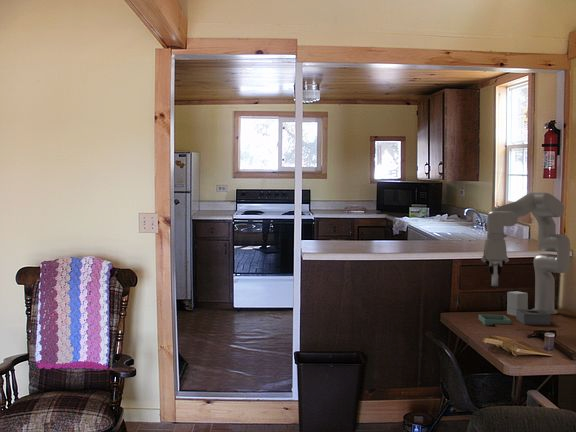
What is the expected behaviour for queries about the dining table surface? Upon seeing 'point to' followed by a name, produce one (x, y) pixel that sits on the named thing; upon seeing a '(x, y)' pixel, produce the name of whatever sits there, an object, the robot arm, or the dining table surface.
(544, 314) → the socket block
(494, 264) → the pin
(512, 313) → the supplement box
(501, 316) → the tray
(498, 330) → the dining table surface
